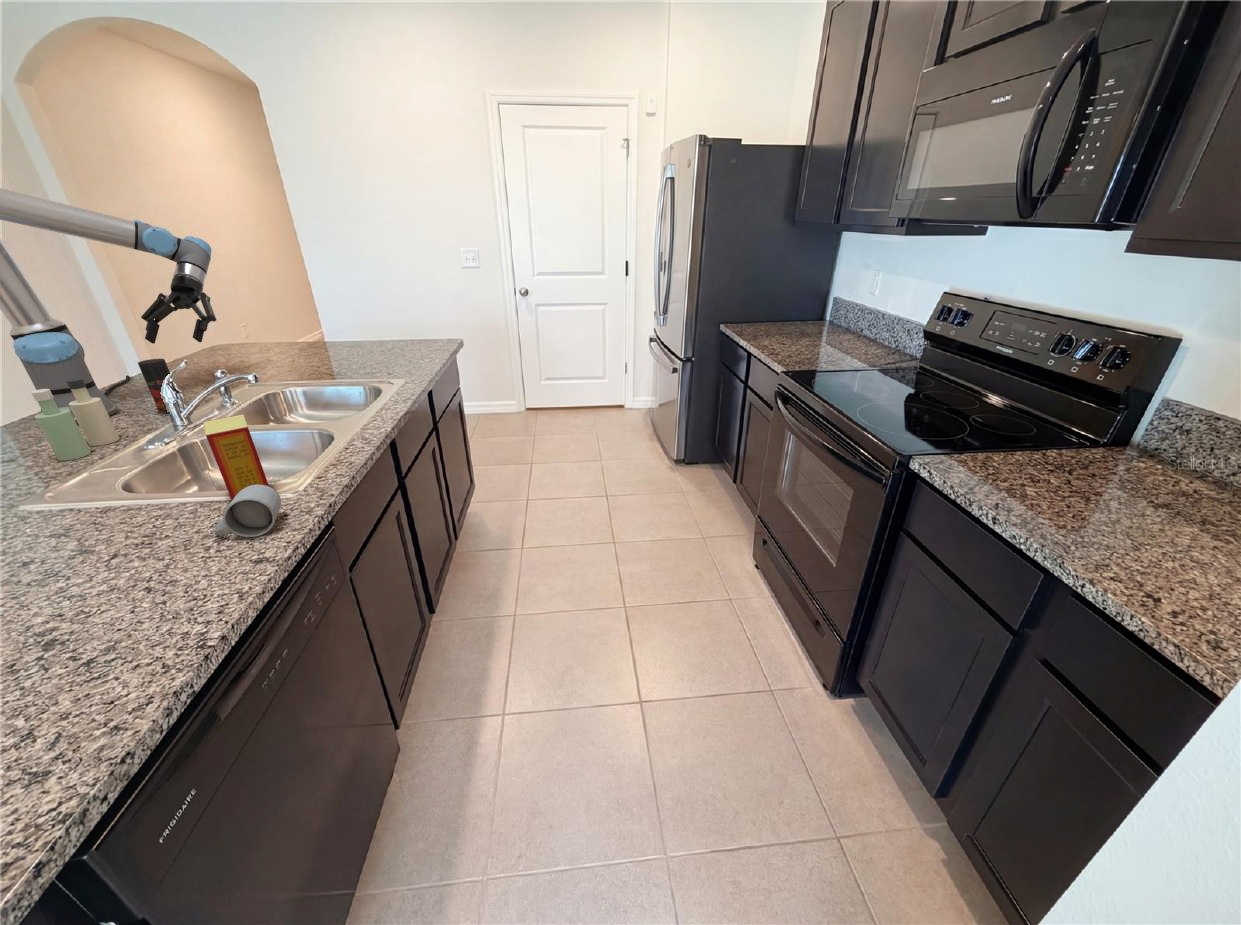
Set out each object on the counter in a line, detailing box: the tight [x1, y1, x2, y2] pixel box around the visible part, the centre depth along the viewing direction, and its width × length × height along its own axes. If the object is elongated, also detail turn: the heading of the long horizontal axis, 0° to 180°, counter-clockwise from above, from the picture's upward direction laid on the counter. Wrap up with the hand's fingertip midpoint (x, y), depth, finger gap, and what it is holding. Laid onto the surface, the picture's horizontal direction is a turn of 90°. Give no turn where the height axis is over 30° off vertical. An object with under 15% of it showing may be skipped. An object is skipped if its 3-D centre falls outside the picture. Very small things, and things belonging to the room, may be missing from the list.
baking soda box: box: [203, 413, 270, 501], centre depth 102 cm, size 10×6×16 cm
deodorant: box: [137, 358, 175, 415], centre depth 148 cm, size 6×6×15 cm
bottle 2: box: [66, 378, 120, 447], centre depth 127 cm, size 6×6×16 cm
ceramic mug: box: [213, 485, 282, 538], centre depth 92 cm, size 11×8×8 cm
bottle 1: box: [30, 389, 92, 462], centre depth 119 cm, size 6×6×16 cm
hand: (173, 340), depth 153 cm, fingers open, 13 cm apart
